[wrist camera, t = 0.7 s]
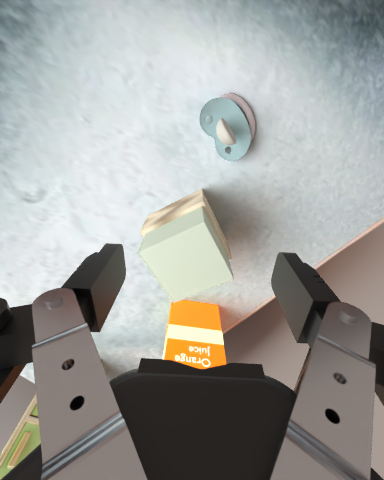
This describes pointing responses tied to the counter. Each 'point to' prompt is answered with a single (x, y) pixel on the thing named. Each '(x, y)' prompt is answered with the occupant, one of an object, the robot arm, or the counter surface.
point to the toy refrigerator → (21, 440)
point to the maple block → (181, 209)
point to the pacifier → (229, 125)
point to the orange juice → (194, 335)
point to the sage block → (186, 256)
